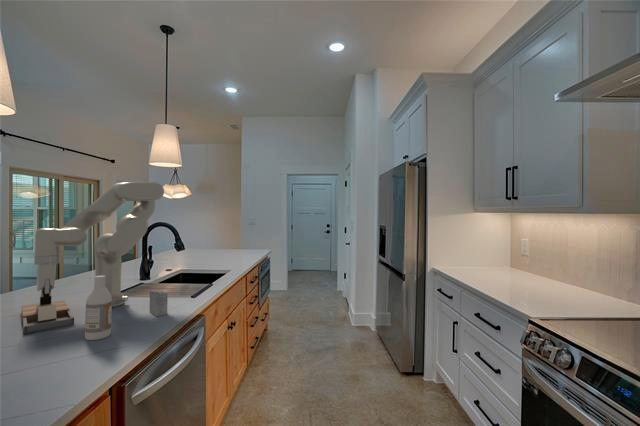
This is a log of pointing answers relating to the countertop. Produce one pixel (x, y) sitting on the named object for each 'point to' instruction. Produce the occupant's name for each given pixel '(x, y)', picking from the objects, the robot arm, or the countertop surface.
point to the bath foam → (98, 311)
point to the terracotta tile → (42, 306)
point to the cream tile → (46, 313)
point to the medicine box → (158, 303)
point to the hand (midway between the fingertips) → (45, 306)
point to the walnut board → (31, 315)
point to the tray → (48, 324)
